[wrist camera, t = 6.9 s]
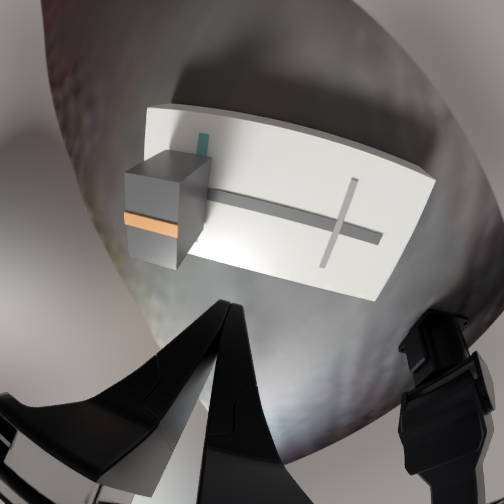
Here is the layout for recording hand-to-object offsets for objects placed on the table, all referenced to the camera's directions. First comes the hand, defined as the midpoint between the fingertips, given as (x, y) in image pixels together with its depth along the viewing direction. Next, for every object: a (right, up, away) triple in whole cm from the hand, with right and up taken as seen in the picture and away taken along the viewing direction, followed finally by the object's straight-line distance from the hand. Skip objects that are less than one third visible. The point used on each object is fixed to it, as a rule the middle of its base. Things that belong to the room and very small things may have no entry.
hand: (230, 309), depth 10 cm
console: (+3, +6, +10) cm, 12 cm away
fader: (-3, +6, +7) cm, 10 cm away
